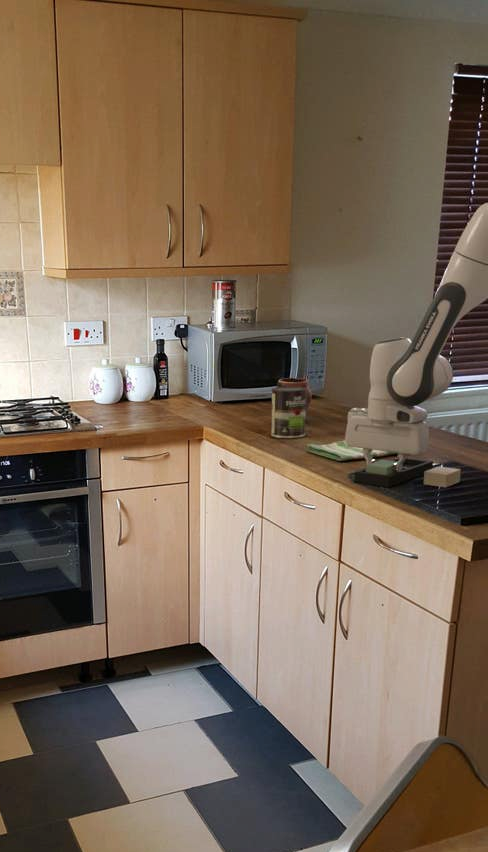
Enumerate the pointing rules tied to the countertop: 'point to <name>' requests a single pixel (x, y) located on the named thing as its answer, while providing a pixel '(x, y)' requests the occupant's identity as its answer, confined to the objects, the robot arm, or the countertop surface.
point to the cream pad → (442, 476)
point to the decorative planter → (297, 383)
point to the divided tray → (409, 471)
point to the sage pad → (381, 467)
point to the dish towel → (343, 451)
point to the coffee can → (288, 412)
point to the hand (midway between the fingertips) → (383, 469)
